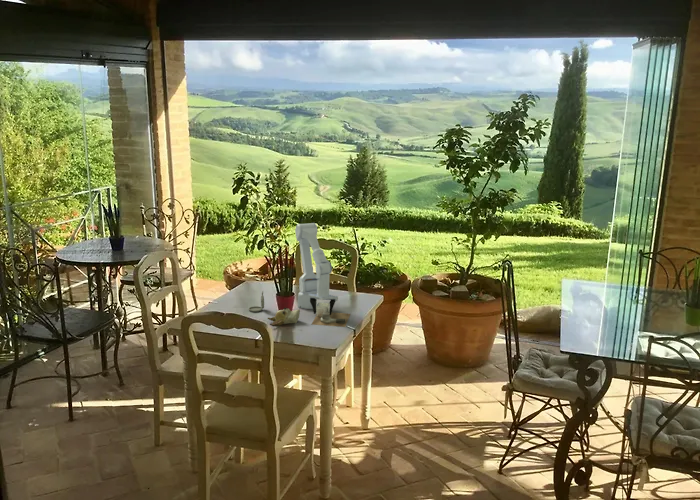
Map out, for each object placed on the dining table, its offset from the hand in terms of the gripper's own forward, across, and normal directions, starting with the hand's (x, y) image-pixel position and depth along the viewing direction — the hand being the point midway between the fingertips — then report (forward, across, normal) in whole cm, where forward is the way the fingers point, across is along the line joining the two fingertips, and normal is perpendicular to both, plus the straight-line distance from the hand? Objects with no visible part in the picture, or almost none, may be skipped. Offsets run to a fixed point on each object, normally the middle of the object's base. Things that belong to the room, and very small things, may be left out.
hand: (322, 313), depth 282 cm
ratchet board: (+2, +5, -4) cm, 7 cm away
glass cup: (+3, -34, +5) cm, 34 cm away
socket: (+1, 0, 0) cm, 1 cm away
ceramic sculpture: (+3, -16, -12) cm, 21 cm away
